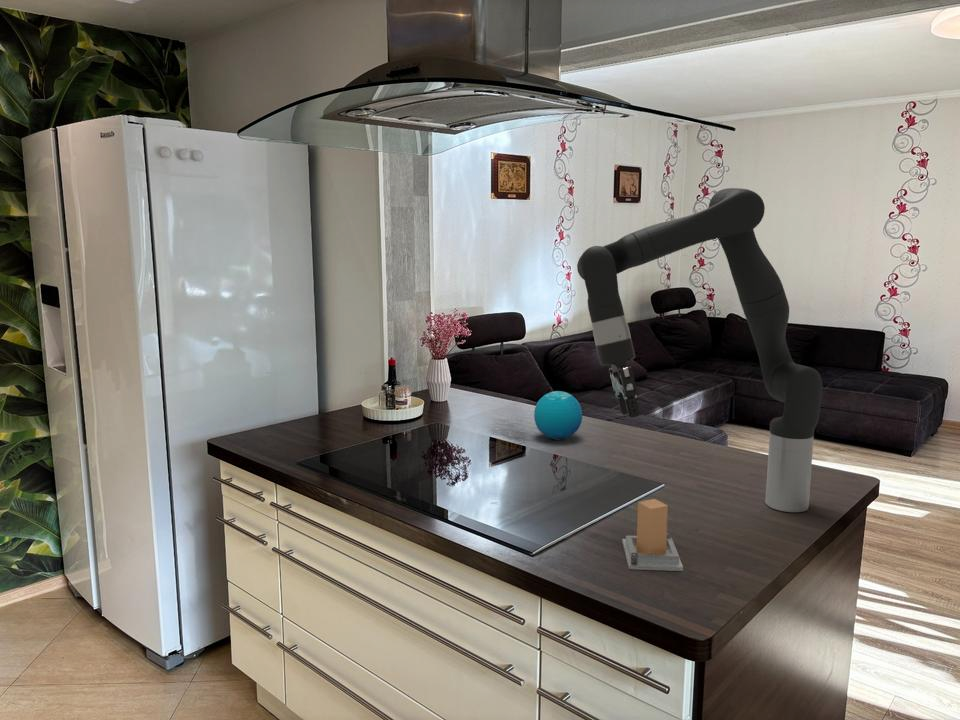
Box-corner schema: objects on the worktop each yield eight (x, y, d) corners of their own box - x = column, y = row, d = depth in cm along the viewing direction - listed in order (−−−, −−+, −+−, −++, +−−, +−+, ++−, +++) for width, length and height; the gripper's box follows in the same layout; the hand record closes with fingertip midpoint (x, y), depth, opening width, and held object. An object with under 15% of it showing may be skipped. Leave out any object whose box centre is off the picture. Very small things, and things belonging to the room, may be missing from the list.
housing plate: (622, 542, 145) (622, 530, 145) (671, 543, 144) (672, 531, 144) (628, 569, 133) (629, 556, 133) (683, 571, 132) (683, 558, 132)
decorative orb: (569, 448, 211) (570, 399, 208) (525, 441, 218) (525, 393, 216) (589, 436, 223) (590, 389, 221) (547, 429, 231) (547, 384, 228)
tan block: (636, 550, 140) (637, 502, 138) (652, 546, 141) (654, 498, 139) (649, 558, 136) (650, 509, 134) (666, 554, 138) (667, 505, 136)
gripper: (637, 335, 142) (655, 413, 141) (624, 337, 156) (641, 409, 156) (600, 343, 142) (619, 422, 142) (591, 345, 156) (607, 416, 156)
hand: (630, 415), depth 149 cm, fingers open, 8 cm apart
